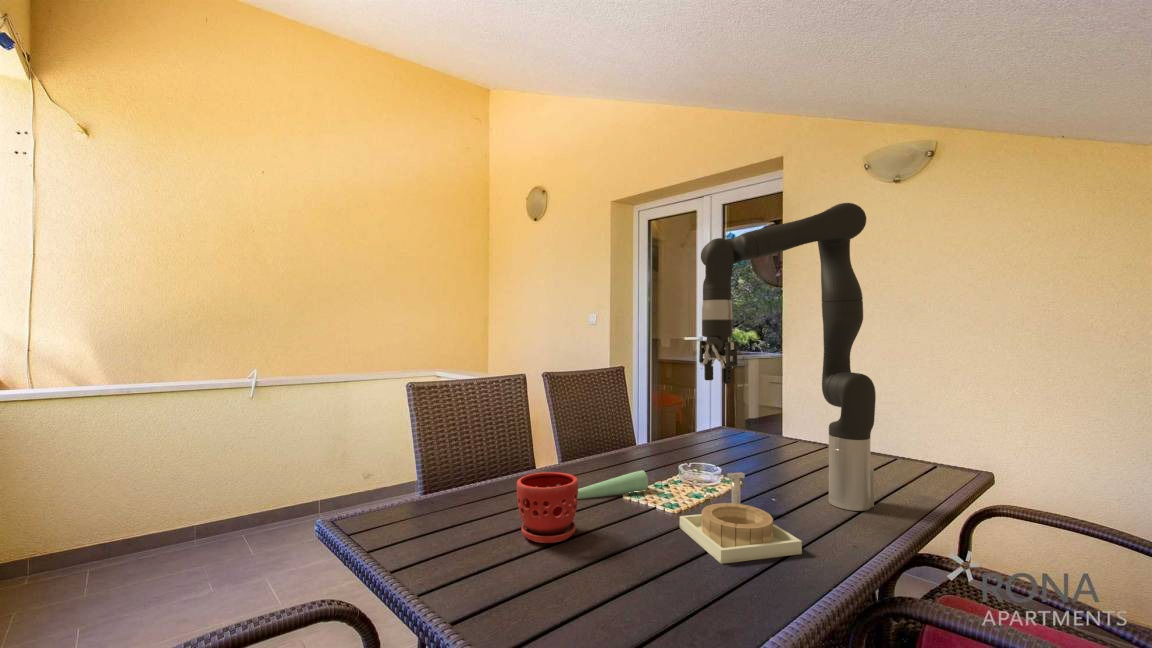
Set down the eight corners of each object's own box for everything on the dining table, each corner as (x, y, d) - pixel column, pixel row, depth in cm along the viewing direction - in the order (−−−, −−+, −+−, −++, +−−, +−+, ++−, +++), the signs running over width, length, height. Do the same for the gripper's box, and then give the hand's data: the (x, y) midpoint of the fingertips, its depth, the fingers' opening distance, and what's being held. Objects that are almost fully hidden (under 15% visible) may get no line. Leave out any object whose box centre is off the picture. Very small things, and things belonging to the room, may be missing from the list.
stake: (740, 508, 123) (740, 471, 123) (745, 511, 121) (745, 474, 122) (726, 510, 122) (726, 473, 122) (730, 513, 120) (730, 475, 121)
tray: (749, 520, 116) (749, 509, 116) (801, 553, 99) (801, 541, 99) (679, 527, 112) (679, 516, 112) (721, 563, 95) (721, 550, 95)
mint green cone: (547, 478, 131) (638, 467, 141) (547, 499, 131) (638, 487, 140) (554, 484, 126) (648, 473, 136) (554, 506, 126) (648, 493, 135)
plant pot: (585, 527, 112) (586, 473, 112) (565, 552, 99) (565, 491, 99) (531, 519, 116) (532, 467, 116) (505, 542, 104) (506, 484, 104)
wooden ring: (746, 520, 114) (746, 500, 114) (787, 546, 101) (787, 524, 101) (690, 526, 110) (690, 506, 111) (724, 554, 97) (724, 531, 97)
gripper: (746, 317, 123) (746, 384, 122) (715, 318, 136) (715, 378, 136) (718, 317, 121) (719, 385, 120) (690, 318, 134) (690, 379, 134)
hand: (717, 381), depth 128 cm, fingers open, 8 cm apart
